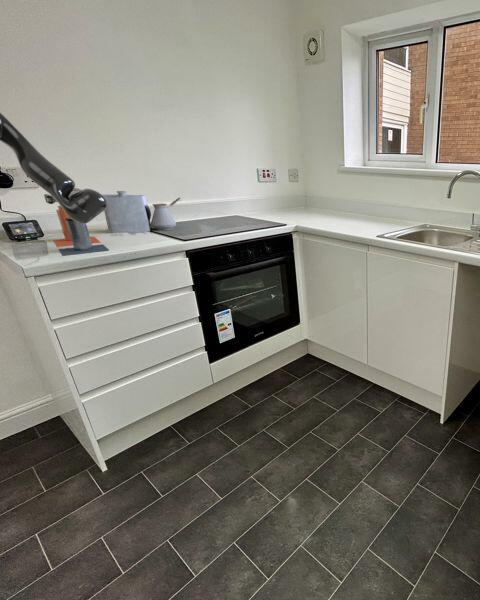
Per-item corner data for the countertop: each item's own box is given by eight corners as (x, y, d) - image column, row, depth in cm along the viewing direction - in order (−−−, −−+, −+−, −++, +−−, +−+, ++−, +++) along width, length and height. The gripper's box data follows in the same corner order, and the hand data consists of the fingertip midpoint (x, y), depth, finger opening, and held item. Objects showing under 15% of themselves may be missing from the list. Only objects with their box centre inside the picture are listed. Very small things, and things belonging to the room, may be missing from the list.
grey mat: (62, 256, 131) (61, 254, 131) (58, 250, 139) (58, 249, 138) (109, 250, 141) (108, 249, 141) (103, 245, 148) (103, 244, 148)
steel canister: (75, 251, 136) (65, 219, 131) (73, 248, 139) (63, 217, 135) (94, 249, 140) (85, 218, 135) (92, 246, 143) (83, 216, 139)
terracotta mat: (57, 248, 141) (57, 247, 141) (53, 241, 152) (52, 240, 152) (101, 243, 151) (101, 242, 151) (94, 237, 162) (94, 236, 162)
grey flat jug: (154, 228, 187) (147, 194, 180) (151, 230, 182) (143, 194, 176) (112, 228, 182) (103, 193, 175) (107, 230, 177) (98, 194, 171)
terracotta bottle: (66, 241, 150) (52, 196, 144) (64, 239, 154) (50, 195, 148) (85, 239, 155) (72, 196, 148) (83, 237, 159) (70, 195, 152)
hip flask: (149, 230, 181) (140, 190, 174) (151, 231, 178) (141, 190, 171) (111, 233, 171) (99, 190, 164) (111, 234, 169) (100, 191, 161)
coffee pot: (166, 231, 180) (160, 201, 174) (146, 230, 181) (139, 200, 176) (194, 225, 200) (190, 197, 194) (176, 223, 201) (171, 196, 196)
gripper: (102, 188, 118) (93, 185, 129) (44, 189, 109) (39, 185, 119) (108, 211, 121) (99, 206, 131) (52, 213, 111) (47, 208, 121)
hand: (71, 196), depth 125 cm, fingers open, 8 cm apart
